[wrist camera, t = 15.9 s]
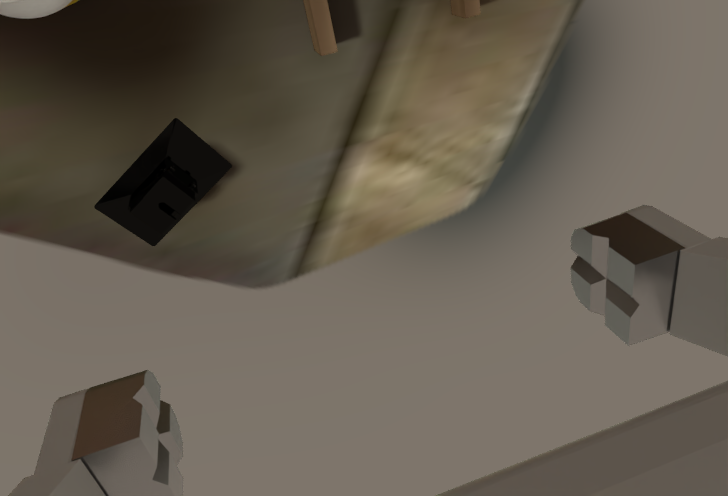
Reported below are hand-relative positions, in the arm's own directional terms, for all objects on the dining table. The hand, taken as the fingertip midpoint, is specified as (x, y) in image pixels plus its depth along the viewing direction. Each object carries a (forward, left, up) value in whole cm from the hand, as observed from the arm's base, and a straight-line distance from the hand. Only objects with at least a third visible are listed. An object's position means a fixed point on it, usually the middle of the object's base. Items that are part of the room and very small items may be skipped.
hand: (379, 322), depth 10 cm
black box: (-8, -9, -36) cm, 38 cm away
